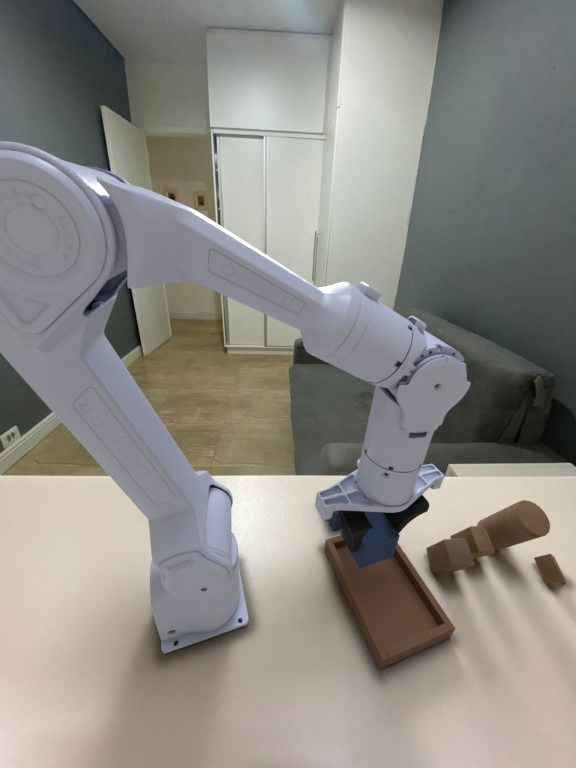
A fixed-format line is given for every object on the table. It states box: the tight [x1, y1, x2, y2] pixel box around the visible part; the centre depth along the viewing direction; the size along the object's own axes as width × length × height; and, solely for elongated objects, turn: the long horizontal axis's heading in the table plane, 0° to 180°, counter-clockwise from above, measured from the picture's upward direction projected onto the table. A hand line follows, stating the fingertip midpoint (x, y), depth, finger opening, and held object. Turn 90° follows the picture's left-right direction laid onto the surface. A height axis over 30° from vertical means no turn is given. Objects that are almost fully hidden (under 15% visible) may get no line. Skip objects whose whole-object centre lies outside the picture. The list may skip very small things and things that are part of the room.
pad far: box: [327, 511, 342, 531], centre depth 48 cm, size 4×4×4 cm
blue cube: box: [340, 511, 401, 569], centre depth 36 cm, size 4×4×4 cm
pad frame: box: [323, 534, 456, 670], centre depth 39 cm, size 10×14×2 cm
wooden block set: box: [425, 499, 567, 584], centre depth 41 cm, size 18×9×10 cm, turn 93°
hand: (368, 538), depth 37 cm, fingers closed on blue cube, 4 cm apart
